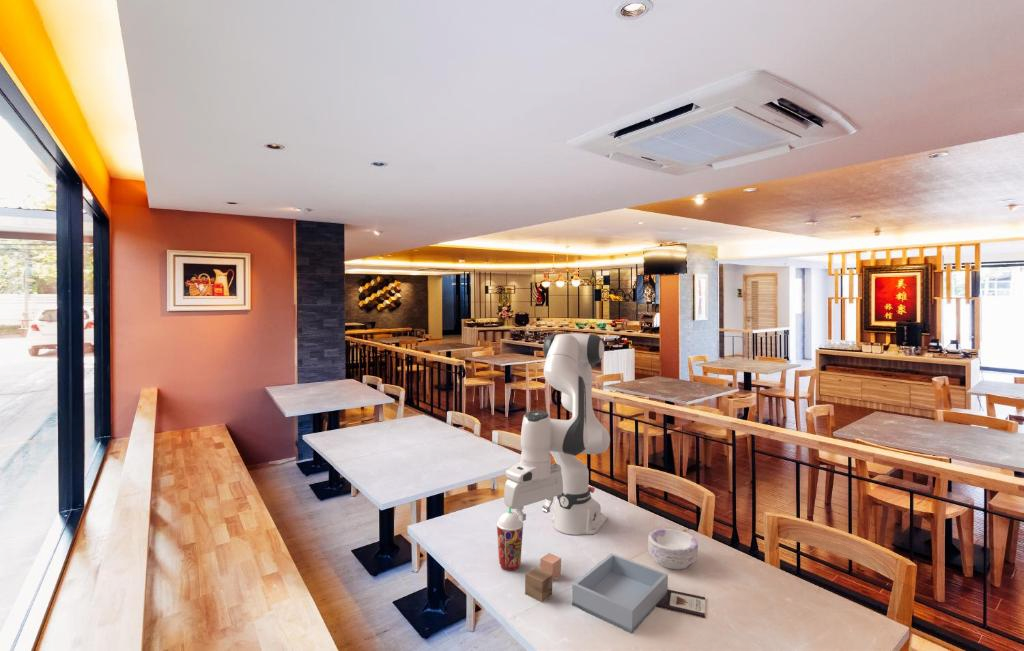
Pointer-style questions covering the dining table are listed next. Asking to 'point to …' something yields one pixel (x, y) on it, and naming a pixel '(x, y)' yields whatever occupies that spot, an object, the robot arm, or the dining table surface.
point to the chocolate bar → (683, 603)
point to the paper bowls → (673, 548)
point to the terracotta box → (551, 565)
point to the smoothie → (509, 540)
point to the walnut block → (538, 584)
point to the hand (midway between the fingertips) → (534, 516)
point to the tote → (620, 591)
